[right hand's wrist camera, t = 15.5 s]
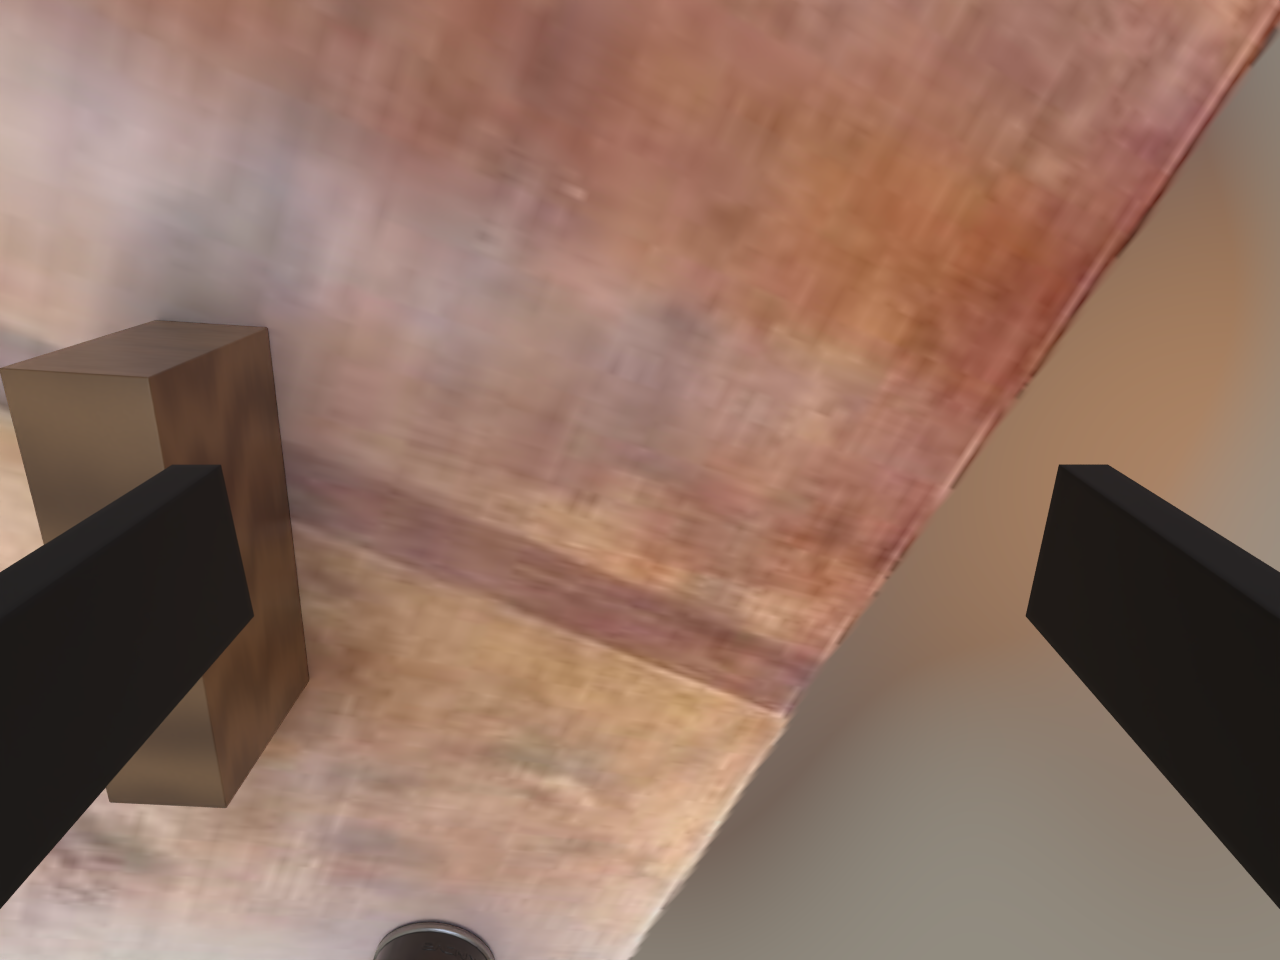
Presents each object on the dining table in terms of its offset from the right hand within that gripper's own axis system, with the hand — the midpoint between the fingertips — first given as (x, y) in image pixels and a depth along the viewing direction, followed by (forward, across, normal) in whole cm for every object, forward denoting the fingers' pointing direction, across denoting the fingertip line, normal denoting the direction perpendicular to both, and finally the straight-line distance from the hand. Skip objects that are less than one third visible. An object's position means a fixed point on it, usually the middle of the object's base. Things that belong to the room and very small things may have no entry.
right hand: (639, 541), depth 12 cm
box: (+31, -24, -14) cm, 41 cm away
